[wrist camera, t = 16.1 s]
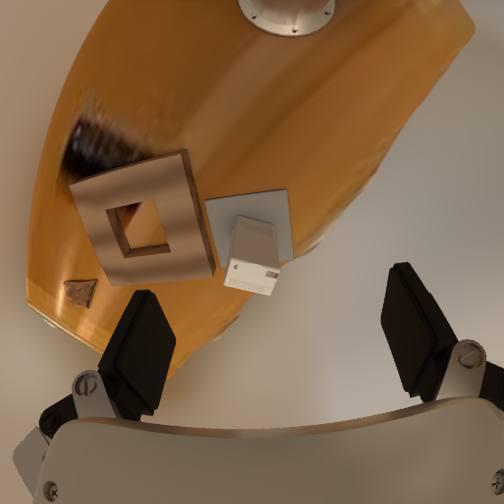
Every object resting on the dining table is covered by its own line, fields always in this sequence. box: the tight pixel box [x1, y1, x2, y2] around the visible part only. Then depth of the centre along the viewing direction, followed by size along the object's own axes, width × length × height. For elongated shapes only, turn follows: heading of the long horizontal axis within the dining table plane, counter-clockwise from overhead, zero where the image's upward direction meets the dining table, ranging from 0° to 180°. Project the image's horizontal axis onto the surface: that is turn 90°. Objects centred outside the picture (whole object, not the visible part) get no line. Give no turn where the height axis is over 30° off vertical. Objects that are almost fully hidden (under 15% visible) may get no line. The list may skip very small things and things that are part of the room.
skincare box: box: [224, 216, 281, 296], centre depth 37 cm, size 6×4×12 cm
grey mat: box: [205, 189, 294, 268], centre depth 43 cm, size 12×12×1 cm
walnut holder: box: [70, 150, 216, 286], centre depth 42 cm, size 20×20×3 cm
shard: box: [63, 279, 97, 309], centre depth 52 cm, size 11×8×2 cm
